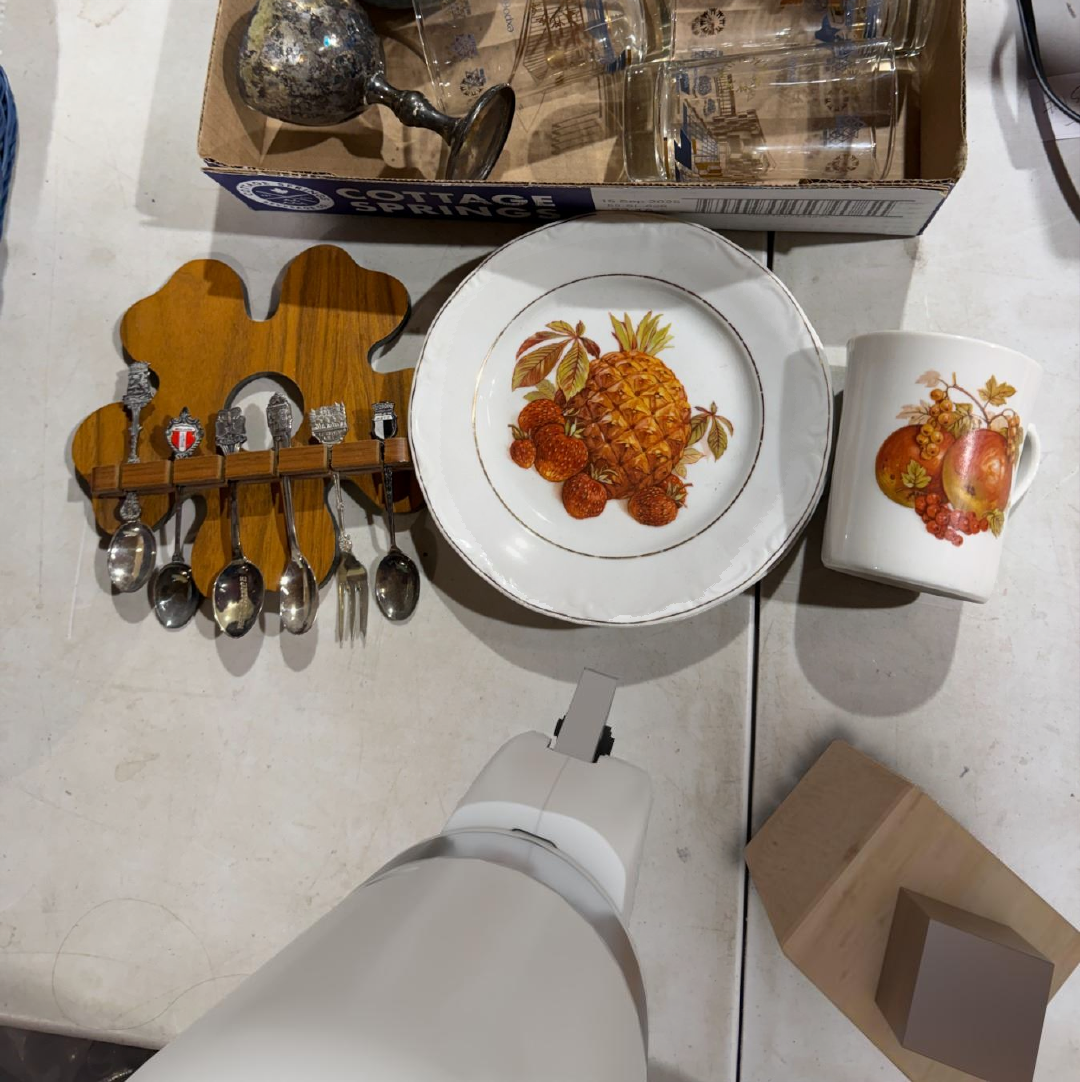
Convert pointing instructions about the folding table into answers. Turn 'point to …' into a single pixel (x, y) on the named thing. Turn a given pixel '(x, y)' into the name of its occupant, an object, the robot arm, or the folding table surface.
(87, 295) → the folding table surface
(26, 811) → the folding table surface
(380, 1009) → the robot arm
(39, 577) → the folding table surface
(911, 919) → the walnut cube
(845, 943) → the wooden block
